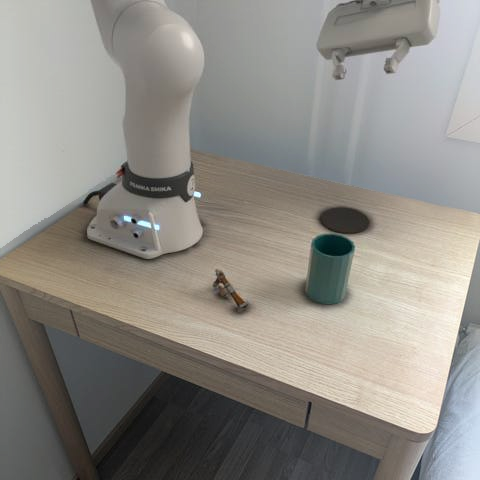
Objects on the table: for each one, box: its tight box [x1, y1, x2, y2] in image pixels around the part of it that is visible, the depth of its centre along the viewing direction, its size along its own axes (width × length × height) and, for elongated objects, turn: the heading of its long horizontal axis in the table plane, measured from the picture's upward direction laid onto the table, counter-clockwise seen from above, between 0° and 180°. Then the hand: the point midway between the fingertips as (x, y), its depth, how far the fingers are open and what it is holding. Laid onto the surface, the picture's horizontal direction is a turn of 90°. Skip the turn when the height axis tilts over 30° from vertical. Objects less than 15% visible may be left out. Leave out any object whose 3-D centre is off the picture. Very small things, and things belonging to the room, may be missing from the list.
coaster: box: [320, 206, 371, 235], centre depth 102 cm, size 10×10×1 cm
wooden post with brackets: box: [212, 268, 250, 313], centre depth 81 cm, size 2×8×4 cm, turn 40°
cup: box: [304, 232, 356, 305], centre depth 81 cm, size 7×7×10 cm
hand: (362, 75), depth 81 cm, fingers open, 8 cm apart
